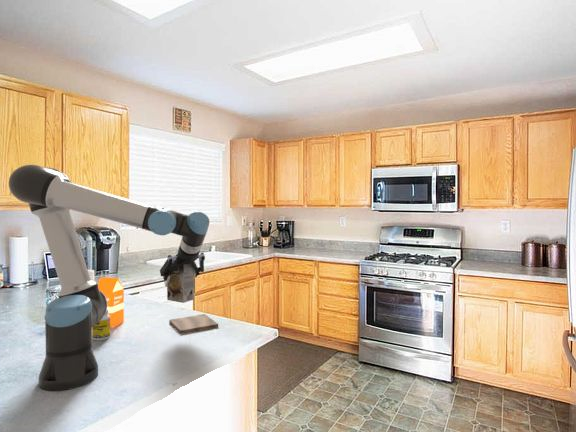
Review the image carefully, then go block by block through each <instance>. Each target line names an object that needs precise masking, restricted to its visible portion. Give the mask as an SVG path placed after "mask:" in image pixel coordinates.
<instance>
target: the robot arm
mask: <svg viewBox="0 0 576 432" xmlns="http://www.w3.org/2000/svg"><path fill="white" fill-rule="evenodd" d="M8 188H9V191H10V193H11V194H12V195H13V197H15V198H16V199H17V200H18V201H20V202H22V203H25V204H28V206H29V209H30V213H32V215H34V216H37V217H38V219H39V222H40V225H41V227H42V230H43V234H44V236H45V237H44V238H45V240H46V243H47V248H48V249H49V253H50V256H51V259H52V263H53V266H54V268H55V272H56V275H57V278H58V281H59V285H60V291H59V292H58V294H57V296H58V297H57V298H56V299H53V300H52V301H50V302H48V304H47V305H46V306H45V307H46V308H45V312H44V313H45V315H44V320H45V322H44V323H45V329H44V330H45V332H44V333H45V357H44V360H43V363H42V366H41V369H40V371H39V375H38V387H39V388H40V389H42V390H45V391H50V392H51V391H65V390H71V389H74V388H77V387H80V386H83V385H86V384H89V383H90V382H91V381H93V380H94V379H96V377H97V376H98V375H99V364H98V362H97V359H96V357H95V353H94V352H93V349H92V346H93V345H92V340H93V339H92V328H93V327H94V326H95V325H96V323H98V322H99V321H100V320H101V319H102V318H103V316H104V314H105V312H106V310H107V299H106V297H105V295H104V294H103V293H102V292H101V291H99V288H98V282H97V281H95V280H94V281H93V280H91V279H90V276H89V273H88V270H89V269H88V267H87V263H86V260H85V257H84V254H83V251H82V246H81V244H80V241H79V237H78V234H77V231H76V228H75V225H74V221H73V218H72V214H71V211H70V210H72V211H76V212H80V213H82V214H86V215H89V216H93V217H97V218H101V219H104V220H107V221H110V222H111V221H113V222H117V223H119V224H123V225H127V226H131V227H134V228H138V229H142V230H145V231H149V232H152V233H153V234H155V235H158V236H167V235H169V234H173V235H178V236H180V237H181V240H180V244H179V247H178V250H177V253H176V255H175V256H172V255H171V254H169V255H167V259H166V260H165V261H164V263H163V265H162V267H161V268H160V269H159V274H160V277H162V278H163V282H164V283H163V284H164V286H165V288H167V286H168V283H169V280H170V274H171V273H173V272H174V271H175V270H176V269H177V268H178V267H181V266H182V265H185V264H191V265H192V267H193V268H194V280H195V278H197V277H198V276H199V275H200V274H201V273H204V272H205V262H204V261H205V259H206V256H205V254H204V252H200V251H201V248H202V245H203V244H204V240H205V238H206V235H207V233H208V229H209V228H210V227H209V226H210V218H209V216H208V215H207V214H206V213H204V212H202V211H192V212H191V213H189V214H185V213H180V212H178V211H176V210H173V209H170V208H167V207H163V206H160V205H155V206H153V205H148V204H145V203H142V202H138V201H135V200H131V199H128V198H124V197H121V196H117V195H114V194H110V193H107V192H104V191H101V190H96V189H93V188H90V187H87V186H83V185H79V184H76V183H73V182H71V180H70V178H69V177H68V176H67V175H66V174H65V173H63V172H62V171H60V170H58V169H55V168H54V167H53V168H52V167H45V166H42V165H38V164H27V165H26V164H25V165H22V166H20V167H17V168H16V169H15V170H13V172H12V173H11V174H10V176H9V178H8ZM174 260H175V262H173V261H174ZM196 260H198V263H199V266H198V265H197V263H196Z"/></svg>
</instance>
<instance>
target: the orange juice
mask: <svg viewBox="0 0 576 432" xmlns="http://www.w3.org/2000/svg"><path fill="white" fill-rule="evenodd" d="M97 284H98V288H99V291H101V292H102V293H103V294H104V295H105V297H106V299H107V309H108V313H107V314H109V315H110V328H114V327H116V326H118V325H119V324H122V323H124V322H125V318H124V317H125V316H124V315H125V313H124V311H125V310H124V309H125V302H124V301H125V297H124V295H125V294H124V293H125V292H124V291H125V290H124V287H123V285H122V282H121V281H120V279H119V278H118V277H103V276H100V278H99V281H98V282H97Z"/></svg>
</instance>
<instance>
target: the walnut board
mask: <svg viewBox="0 0 576 432" xmlns="http://www.w3.org/2000/svg"><path fill="white" fill-rule="evenodd" d="M168 323H169V325H171V326H172V328H174V329H175V331H177V332H178V334H180V335H184V334H190V333H195V332H200V331H206V330H212V329H215V328H219V323H218V322H217V321H215V320H213V319H212V318H211V317H210V316H208V315H207V314H205V313H202V314H197V315H191V316H190V315H189V316H185V317H179V318H173V319H169V321H168Z"/></svg>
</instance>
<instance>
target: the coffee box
mask: <svg viewBox="0 0 576 432" xmlns="http://www.w3.org/2000/svg"><path fill="white" fill-rule="evenodd" d="M173 262H175V260H174V261H173ZM166 292H167V293H166V298H167V301H171V302H176V303H182V304H184V303H188V302H190V301H194V300H195V279H194V268H193V267H192V265H191V264H185V265H182V266H181V267H178V268H177V269H176V270H175V271H174V272H173V273H171V274H170V280H169V283H168V286H167V287H166Z"/></svg>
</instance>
